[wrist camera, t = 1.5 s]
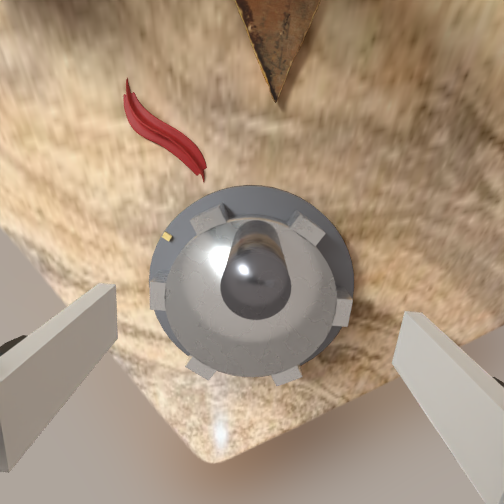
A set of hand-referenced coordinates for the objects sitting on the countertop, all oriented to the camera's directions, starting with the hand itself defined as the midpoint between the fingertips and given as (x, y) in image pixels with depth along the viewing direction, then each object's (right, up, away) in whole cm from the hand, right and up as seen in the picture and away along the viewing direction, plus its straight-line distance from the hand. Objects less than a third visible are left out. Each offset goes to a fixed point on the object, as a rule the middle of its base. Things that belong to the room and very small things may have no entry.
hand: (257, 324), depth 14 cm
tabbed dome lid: (0, -1, +17) cm, 17 cm away
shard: (+3, +24, +13) cm, 27 cm away
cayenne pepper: (-9, +15, +16) cm, 23 cm away
